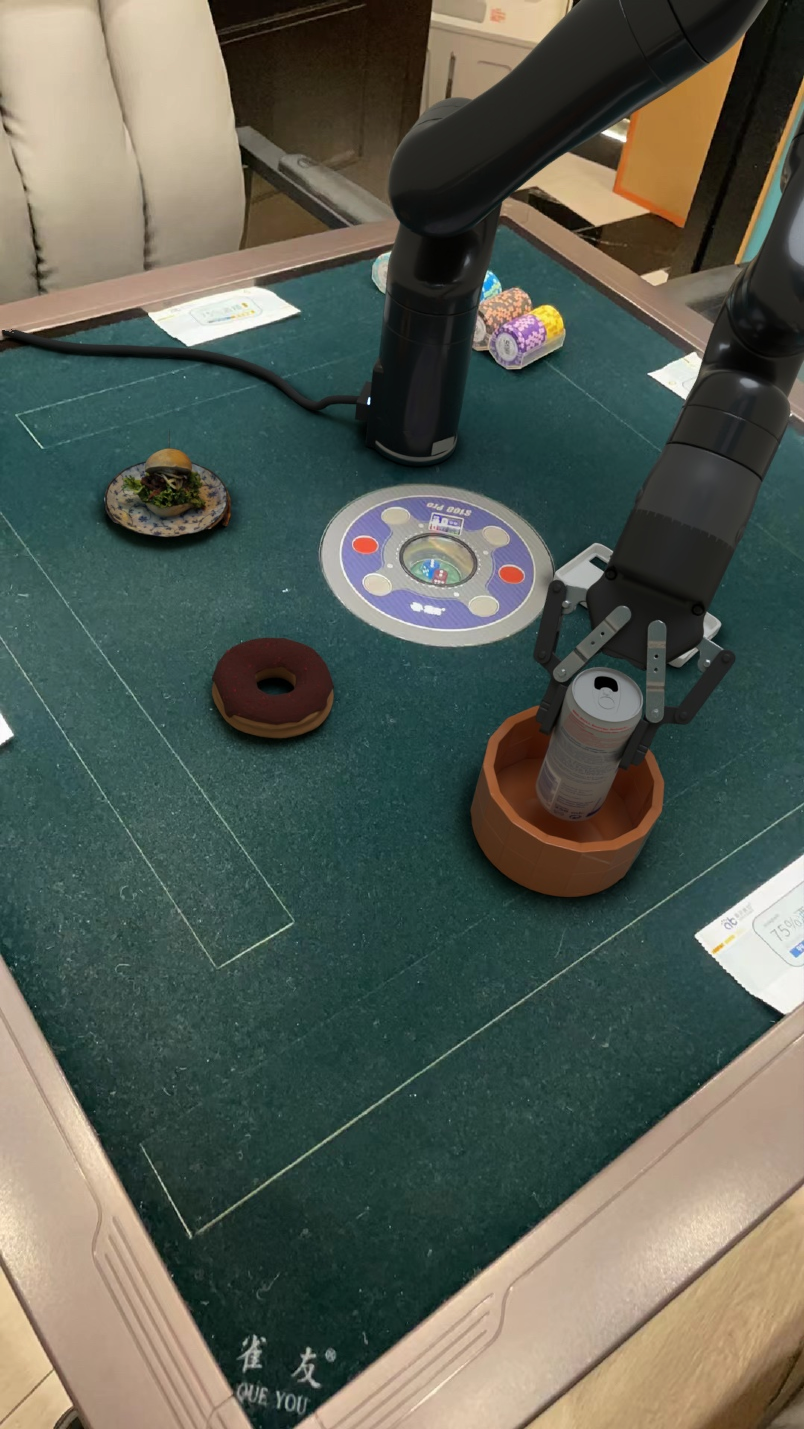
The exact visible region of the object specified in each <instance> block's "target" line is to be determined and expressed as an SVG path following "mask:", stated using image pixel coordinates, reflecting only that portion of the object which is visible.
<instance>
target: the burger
mask: <svg viewBox="0 0 804 1429" xmlns="http://www.w3.org/2000/svg"><path fill="white" fill-rule="evenodd" d="M170 441H171V428H169V429H168V447H170V446H171V445H170ZM103 501H104V504H105V505H104V514H105V516H108V517H109V518H110V520H111V521H112V522H113V523H116V524H118V525H121V526H122V527H123V528H125V529H127V530H129V531H130V532H135V533H137V534H138V533H139V534H141V535H147V536H149V535H150V536H155V537H163V538H173V537H180V536H184V535H188V534H195V533H199V532H201V531H205V530H210V529H212V528H213V527H215V526H217V525H218V524H219V522H220V521H221V525H222V526H223V527H228V524H229V520H230V519H231V510H232V509H231V497H230V494H229V490H228V488H227V485H226V484H225V483H224V481H223V480H222V479H221V477H219V476H218V475H217V474H216V473H215V472H214V471H213V470H211V469H209V468H207V467H206V466H205V467H204V466H203V465H200V464H198V463H195V462H193V461H191V459H190V458H189V456H188V455H187V454H186V453H185V452H184V451H182V450H180V449H179V450H178V449H175V448H164V449H161V450H158V451H156V452H154V453H152V454H151V455H150V456H149V457H148V459H147V460H146V461H142V462H138V463H135V464H133V465H131V466H128V467H126V468H124V469H123V470H120V472H118V474H116V476H115V477H114V478H112V479H111V480H110V481H109V483H108V485H107V487H106V489H105V493H104V498H103Z"/></svg>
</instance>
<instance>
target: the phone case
mask: <svg viewBox="0 0 804 1429" xmlns="http://www.w3.org/2000/svg"><path fill="white" fill-rule="evenodd" d="M613 551H614V550H612V549H610V548H609V547H607V546H606V545H603V544H602V543H599V542H594V543H592V544H591V545H590V546H588V547H586V549H584V550H583V551H581V552H580V553H579V554H577V555H576V556H574V557H573V558H572V559H570V560H569V561H568V562H567V563H565V564H564V565H563V566H561V567H560V568H559V569H557V570H556V571H555V572H554V575H553V579H552V581H554V580H561V581H562V582H564V583H565V584H569V585H574V586H579V587H584V588H589V587H590V586H591V585H593V584H594V583H595V582H596V581H598V580H599V579H600V577H601V576H602V575H603V573H604V571H605V570H604V571H603V569H600V568H599V567H597V566H596V565H595V564H594V563H592V562H591V561H592V560H593V559H594V558H595V557H596V558H598V559H599V560H601V561H603V562H604V563H605V564H606V565H607V564H608V562H609V560H610V557H611V555H612V553H613ZM579 604H580V605H582V606H583V607H585V608H586V609H587V605H586V602H581V603H579ZM703 625H704V636H705V637H706V638H708V639H709V640H711V641H712V640H713V639H714V637H716V635H718V633H719V630H720V628H721V626H722V623H721V621H720V620H719V619H718V618H717V617H716V616H714V615H713V614H711V613H709V612H708V611H707V613H706V615H705V617H704V624H703ZM698 652H699V650H698V649H697V648H694V649H692V650H690V651H689V652H687V653H685V654H683V655H682V656H680V657H678V658H676V659H675V660H673V661H671V662H669V663H668V664H669V665H670V666H672V667H675V668H681V667H682V666H683V665H684V664H686V663H687V662H688V661H689V660H690V659H691V658H693V657H694V656H695V655H696V654H697V653H698Z"/></svg>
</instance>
